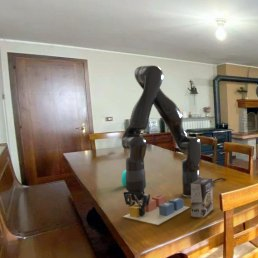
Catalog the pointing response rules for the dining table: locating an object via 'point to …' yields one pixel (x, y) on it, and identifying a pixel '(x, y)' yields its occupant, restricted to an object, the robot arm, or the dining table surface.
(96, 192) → the dining table surface
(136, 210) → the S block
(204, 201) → the coffee box
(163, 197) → the left block
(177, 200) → the right block
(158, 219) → the board
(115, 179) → the dining table surface
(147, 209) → the left block
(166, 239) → the dining table surface
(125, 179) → the donuts
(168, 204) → the right block
